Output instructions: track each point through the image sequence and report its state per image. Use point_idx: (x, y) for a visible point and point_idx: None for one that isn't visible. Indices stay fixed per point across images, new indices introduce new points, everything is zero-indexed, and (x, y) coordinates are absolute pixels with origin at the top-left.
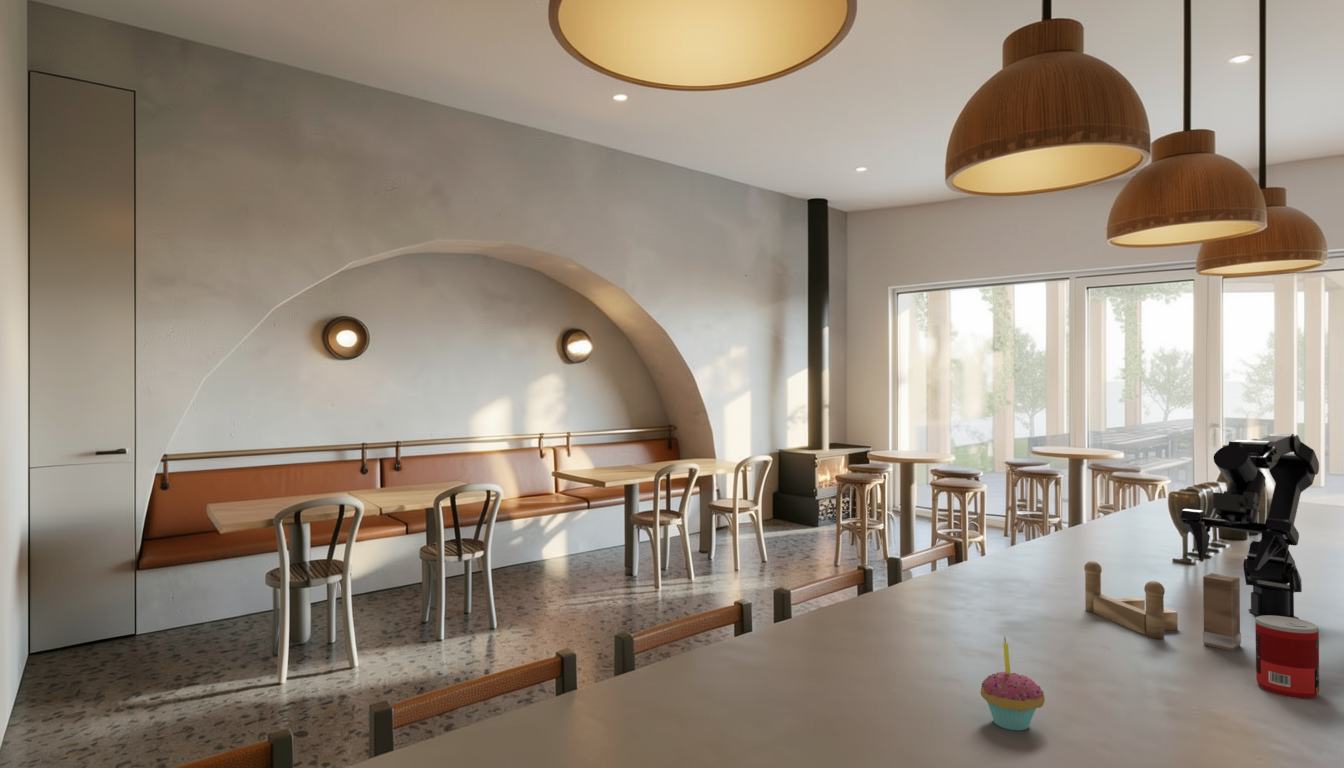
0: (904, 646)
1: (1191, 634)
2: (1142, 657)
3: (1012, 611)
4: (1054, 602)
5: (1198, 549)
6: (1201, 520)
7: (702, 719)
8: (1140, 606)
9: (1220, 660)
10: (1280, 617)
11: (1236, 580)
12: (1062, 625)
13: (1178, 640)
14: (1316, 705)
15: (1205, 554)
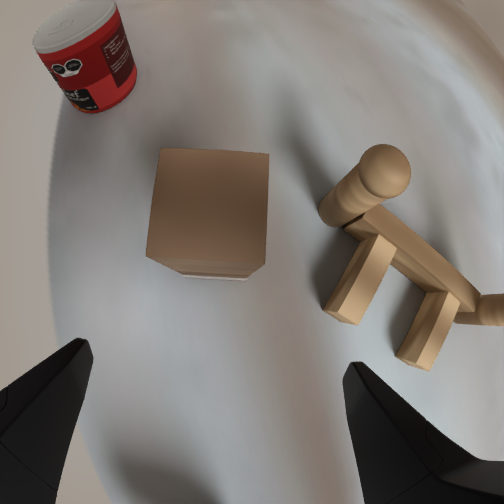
0: (435, 21)
1: (289, 294)
2: (295, 79)
3: (500, 198)
4: None
5: (392, 392)
6: None
7: None
8: (413, 351)
9: (196, 144)
10: (72, 35)
11: (152, 214)
12: (444, 169)
13: (293, 220)
14: None
15: (350, 428)
